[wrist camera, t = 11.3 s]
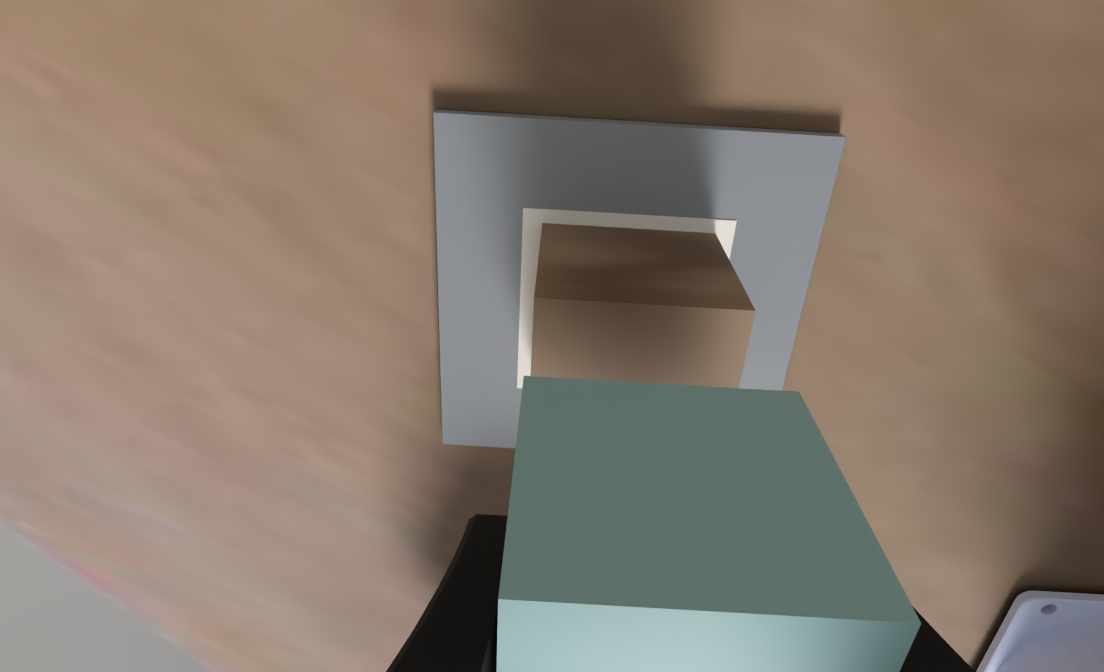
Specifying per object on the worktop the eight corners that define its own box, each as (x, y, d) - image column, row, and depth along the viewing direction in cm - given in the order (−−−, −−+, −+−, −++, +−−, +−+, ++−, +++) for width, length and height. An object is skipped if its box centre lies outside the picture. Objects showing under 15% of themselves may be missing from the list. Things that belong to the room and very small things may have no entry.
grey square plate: (840, 133, 17) (846, 137, 17) (760, 454, 22) (763, 463, 22) (436, 109, 17) (432, 112, 17) (444, 436, 22) (442, 444, 22)
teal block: (799, 391, 11) (921, 624, 7) (747, 586, 13) (820, 846, 10) (523, 375, 11) (498, 599, 7) (515, 572, 13) (492, 828, 9)
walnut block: (715, 233, 18) (755, 310, 14) (689, 379, 20) (718, 482, 16) (542, 223, 18) (534, 297, 14) (535, 370, 20) (526, 471, 16)
